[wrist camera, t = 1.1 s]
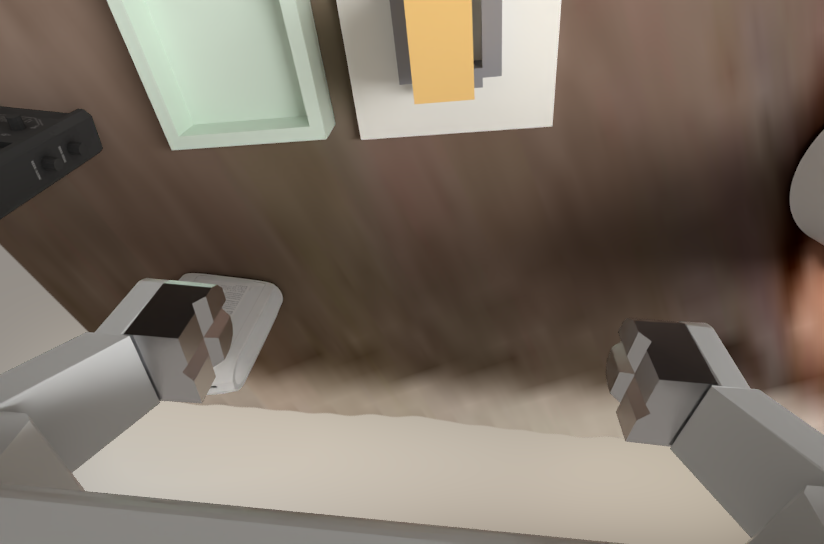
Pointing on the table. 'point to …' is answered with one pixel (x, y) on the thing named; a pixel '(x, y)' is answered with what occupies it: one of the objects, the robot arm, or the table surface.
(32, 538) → the robot arm
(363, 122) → the panel
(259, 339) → the photo printer
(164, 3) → the parts tray
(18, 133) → the geiger counter
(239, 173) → the table surface
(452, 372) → the table surface
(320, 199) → the table surface
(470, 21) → the block
